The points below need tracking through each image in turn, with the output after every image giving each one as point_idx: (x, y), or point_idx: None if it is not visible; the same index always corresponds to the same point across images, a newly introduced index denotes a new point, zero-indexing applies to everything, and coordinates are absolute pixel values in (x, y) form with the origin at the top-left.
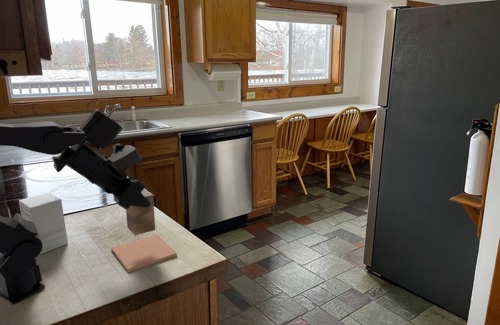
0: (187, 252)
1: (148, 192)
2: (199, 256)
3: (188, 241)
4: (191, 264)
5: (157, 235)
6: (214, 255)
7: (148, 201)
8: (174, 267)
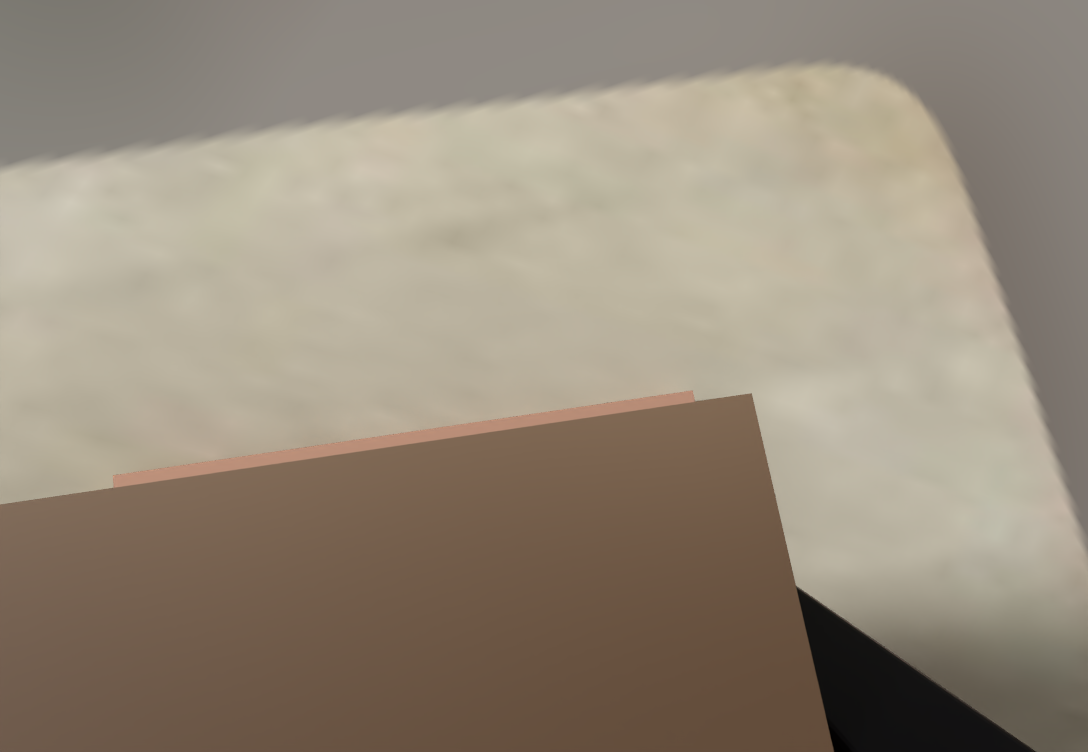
0: (662, 280)
1: (407, 490)
2: (790, 204)
3: (434, 194)
4: (906, 322)
5: (156, 474)
6: (829, 78)
7: (850, 630)
8: (899, 491)
